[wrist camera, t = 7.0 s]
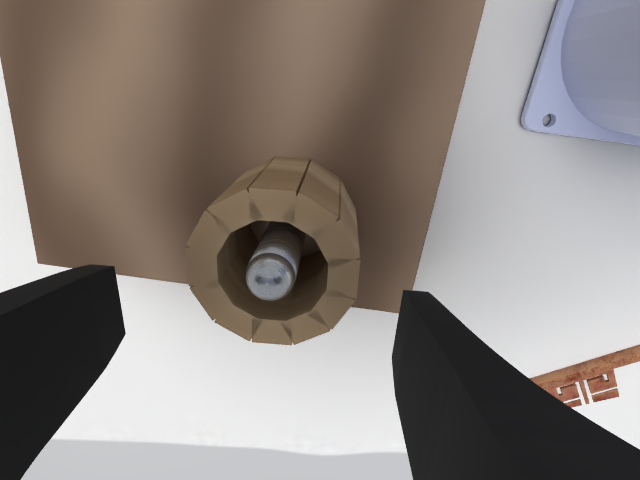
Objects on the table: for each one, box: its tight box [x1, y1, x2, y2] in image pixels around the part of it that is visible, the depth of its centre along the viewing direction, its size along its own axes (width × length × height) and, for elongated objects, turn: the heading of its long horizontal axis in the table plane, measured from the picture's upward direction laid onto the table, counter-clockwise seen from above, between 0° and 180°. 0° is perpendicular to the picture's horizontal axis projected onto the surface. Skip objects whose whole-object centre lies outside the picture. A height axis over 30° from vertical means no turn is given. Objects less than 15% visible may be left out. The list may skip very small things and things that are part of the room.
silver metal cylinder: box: [245, 221, 306, 301], centre depth 14 cm, size 2×2×6 cm
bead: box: [185, 156, 360, 345], centre depth 15 cm, size 6×6×5 cm
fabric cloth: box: [0, 0, 486, 313], centre depth 16 cm, size 18×18×2 cm
